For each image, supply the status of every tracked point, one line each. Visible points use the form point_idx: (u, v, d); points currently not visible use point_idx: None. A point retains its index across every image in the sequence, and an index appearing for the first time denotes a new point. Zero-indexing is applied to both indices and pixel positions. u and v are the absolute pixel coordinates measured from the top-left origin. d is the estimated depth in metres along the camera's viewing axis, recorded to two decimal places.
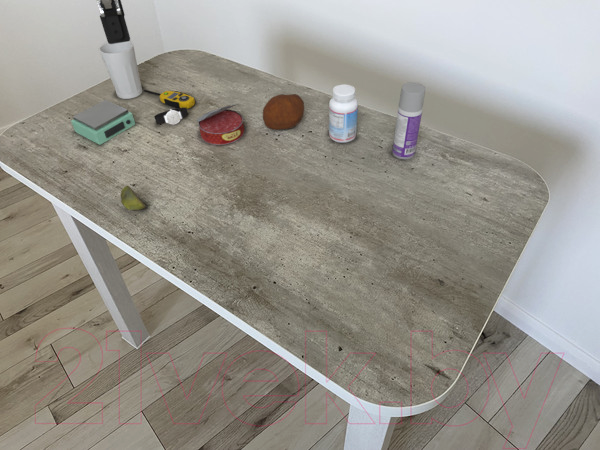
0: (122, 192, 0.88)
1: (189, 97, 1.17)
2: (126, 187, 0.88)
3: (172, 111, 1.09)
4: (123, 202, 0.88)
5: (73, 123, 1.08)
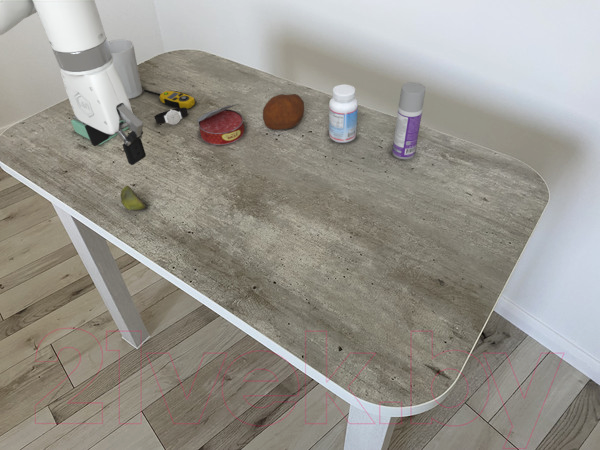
0: (122, 192, 0.88)
1: (189, 97, 1.17)
2: (126, 187, 0.88)
3: (172, 111, 1.09)
4: (123, 202, 0.88)
5: (73, 123, 1.08)
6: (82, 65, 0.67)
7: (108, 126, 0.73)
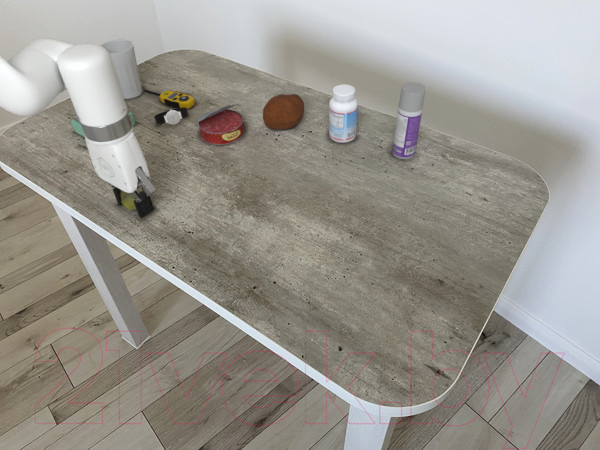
0: (122, 192, 0.88)
1: (189, 97, 1.17)
2: None
3: (172, 111, 1.09)
4: (123, 202, 0.88)
5: (73, 123, 1.08)
6: (106, 136, 0.75)
7: (127, 186, 0.81)
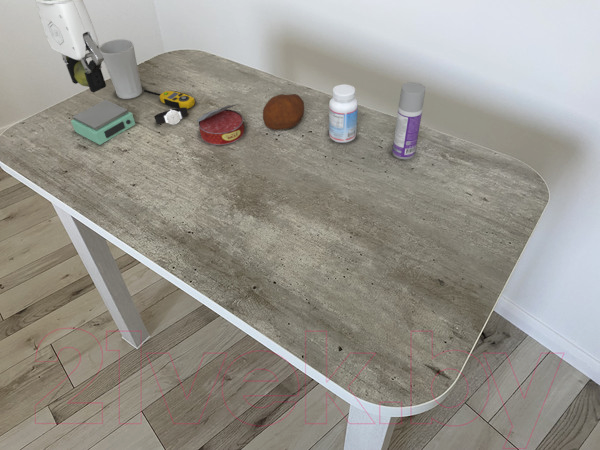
0: (75, 66, 0.92)
1: (189, 97, 1.17)
2: (79, 62, 0.92)
3: (172, 111, 1.09)
4: (76, 76, 0.92)
5: (73, 123, 1.08)
6: None
7: (76, 51, 0.85)
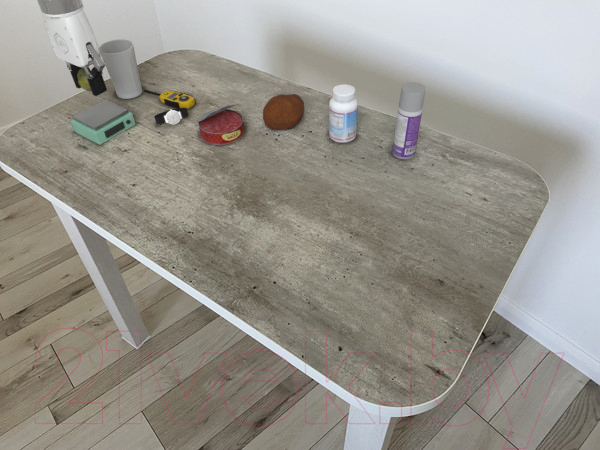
0: (78, 72, 1.01)
1: (189, 97, 1.17)
2: (82, 68, 1.01)
3: (172, 111, 1.09)
4: (79, 81, 1.01)
5: (73, 123, 1.08)
6: (58, 9, 0.89)
7: (79, 60, 0.94)
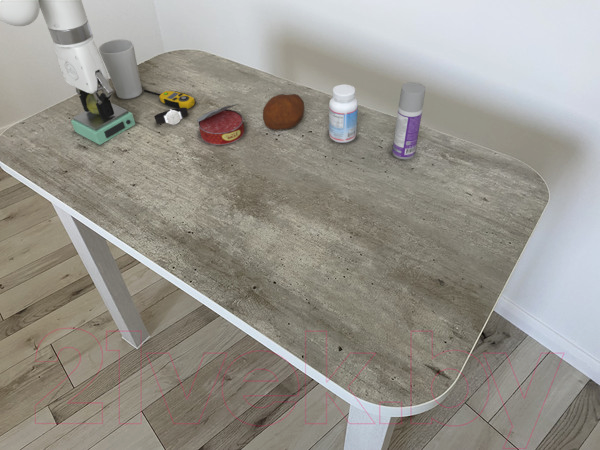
0: (87, 97, 1.05)
1: (189, 97, 1.17)
2: None
3: (172, 111, 1.09)
4: (88, 106, 1.05)
5: (73, 123, 1.08)
6: (69, 40, 0.93)
7: (89, 86, 0.98)
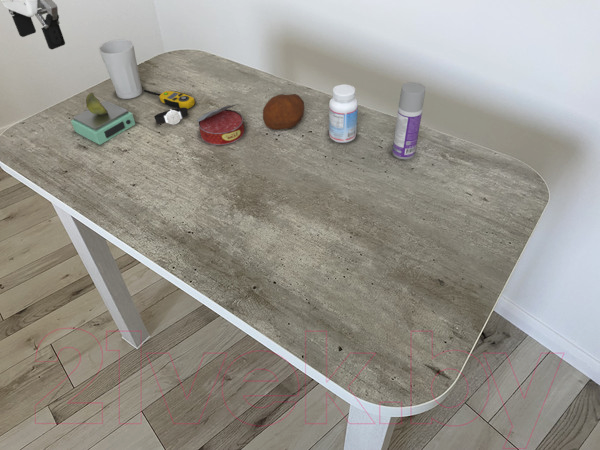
0: (87, 97, 1.05)
1: (189, 97, 1.17)
2: (90, 93, 1.05)
3: (172, 111, 1.09)
4: (88, 106, 1.05)
5: (73, 123, 1.08)
6: None
7: (27, 7, 0.85)
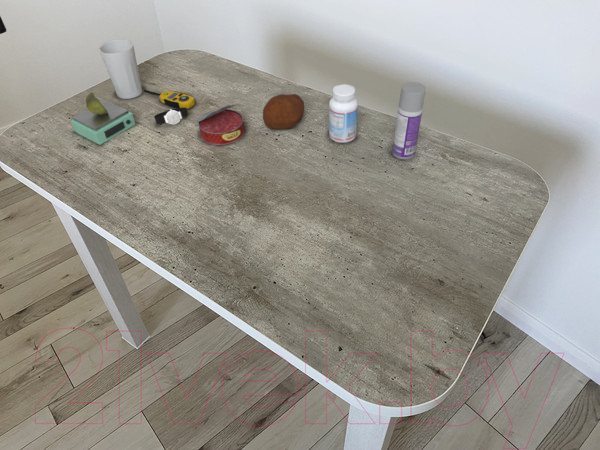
0: (87, 97, 1.05)
1: (189, 97, 1.17)
2: (90, 93, 1.05)
3: (172, 111, 1.09)
4: (88, 106, 1.05)
5: (73, 123, 1.08)
6: None
7: None
